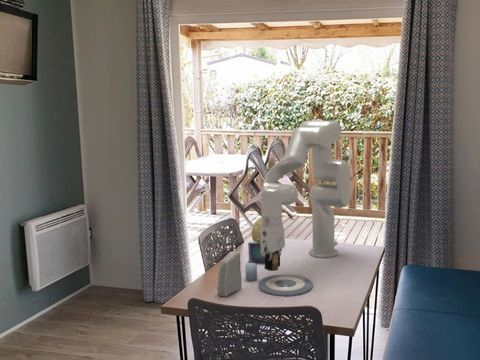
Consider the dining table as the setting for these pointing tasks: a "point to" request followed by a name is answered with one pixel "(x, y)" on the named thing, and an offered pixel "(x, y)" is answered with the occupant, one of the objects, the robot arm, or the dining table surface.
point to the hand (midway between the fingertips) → (272, 267)
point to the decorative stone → (229, 274)
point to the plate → (285, 285)
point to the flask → (255, 252)
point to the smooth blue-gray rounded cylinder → (251, 271)
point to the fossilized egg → (257, 230)
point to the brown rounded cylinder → (274, 261)
